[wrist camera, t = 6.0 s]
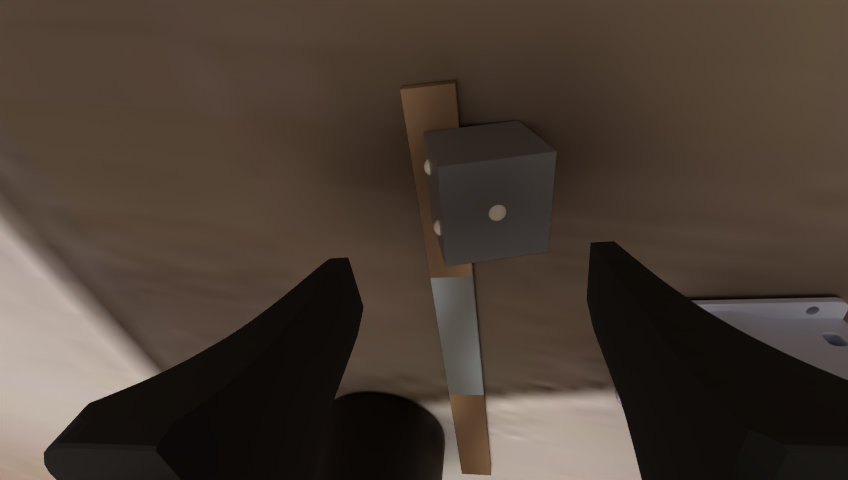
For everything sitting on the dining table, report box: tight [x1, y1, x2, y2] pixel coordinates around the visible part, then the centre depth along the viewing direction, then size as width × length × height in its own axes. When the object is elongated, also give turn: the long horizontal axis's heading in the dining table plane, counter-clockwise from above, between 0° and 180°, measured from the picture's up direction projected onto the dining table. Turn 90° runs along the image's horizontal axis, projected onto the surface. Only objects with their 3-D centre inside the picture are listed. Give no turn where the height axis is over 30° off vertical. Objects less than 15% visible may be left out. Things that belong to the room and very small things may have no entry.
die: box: [423, 120, 557, 267], centre depth 16 cm, size 4×4×4 cm
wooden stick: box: [400, 80, 491, 475], centre depth 24 cm, size 2×28×1 cm, turn 8°
